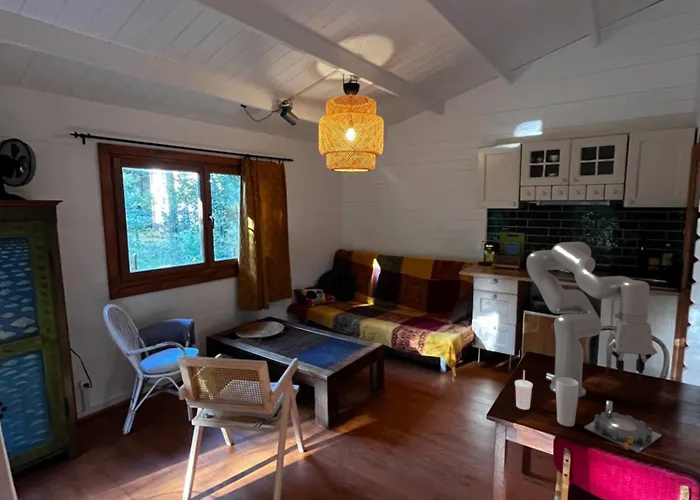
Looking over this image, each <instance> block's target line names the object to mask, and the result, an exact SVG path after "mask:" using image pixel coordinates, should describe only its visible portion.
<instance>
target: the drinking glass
mask: <svg viewBox="0 0 700 500" xmlns="http://www.w3.org/2000/svg"><path fill="white" fill-rule="evenodd" d="M578 394H579V383H578V382H577V381H576V380H574V379H571V378H566V377H561V378H558V379H557V381H556V393H555V399H556V401H555V402H556V416H557V417H556V420H557V422H558V424H560V425H561V426H564V427H574V426H575V423H576V413H577V407H578V401H579V397H578Z"/></svg>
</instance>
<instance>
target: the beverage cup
mask: <svg viewBox="0 0 700 500" xmlns="http://www.w3.org/2000/svg"><path fill="white" fill-rule="evenodd" d="M522 371H523V374H522V379H517V380H515V381H514V386H515V404H516V405H515V407H517V408H518V409H521V410H529V409H530V408H531V400H532V390H533V389H532V388H533V385H534V384H533V382H531V381H528V380H525V379H526V378H525V376H526V374H525V373H526V370H524V369H523V370H522Z"/></svg>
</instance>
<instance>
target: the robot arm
mask: <svg viewBox="0 0 700 500" xmlns="http://www.w3.org/2000/svg"><path fill="white" fill-rule="evenodd" d="M595 268H596V261H595V259H594V258H593V257H592V250H591V247H590V246H589V245H588V244H586V243H585V242H581V241H569V242H568V241H567V242H563V241H562V242H560V243H557V244H555V245H553V247H552V248H551V249H547V250H545V249H543V250H536V251H533V252H531V253H530V254H528V256H527V258H526V269H527V270H526V271H527V273H528V275H529V277H530V279H531V280H532V281H533V283H534V284H535V285H536V287H537V289H538V290H539V293H540V294H541V296H542V298H543V300H544V302H545V304H546V306H547V308H548V310H549V311H550V312H551V313H553V314H560V315H557V316H556V317H555V319H554V321H553V328H554V336H555V358H554V359H555V360H554V361H555V362H554V374H553V373H549V372H547V373H546V376H545V380H548V381H551V383H550V384H549V388H550V390H551V392H554V393H555V394H556V381H557V379H558V378H561V377H566V378H571V379H574V380H576V381H577V382H578V383H579V394H578V398H582V397H585V396H586V394H587V393H586V392H587V391H586V389H585V388H584V387H583V385H582V383H583V365H584V364H583V361H584V359H583V358H584V348H583V346H582V344H581V342H580V340H579V339H580V338H587V337H588V338H589V337H595V336H598V335H599V334H600V333H601V331H602V329H603V328H602V327H603V326H602V325H603V324H602V322H601V319H600V316H599V315H598V313H597V311H596V310H595V308H594V307H593V305H592V303H591V302H590V300H589V298H588V296H590V297H592V298H595V299H597V300H609V299H619V311H618V313H614V315H613V316H614V319H617V320H616V322H615V324H614V328H613V334H612V340H611V342H610V343H608V345H607V346H605V350H606V351H608V352H609V353H610V354H611V355H613V356H614V357H615V360H616V361H615V368H616V369H617V371H619V373H624V370H625V369H624V368H625V361H624V360H623V359H624V356H625V354H629V355H632V354H633V355H637V357H638V358H637V359H636V362H635V364H636V365H635V370H636V372H638V373H639V374H640V375H643V374H644V371H645V366H646V365H645V364H646V362H647V361H648V360H649V359H650V358H651V357H653V356H655V355H656V354H658V350H656V348H655V347H654V346H653V333H652V332H653V331H652V327H651V326H652V325H651V323H649V322H648V318H649V317H648V316H649V315H648V313H649V299H650V284H649V283H648V282H646V281H643V280H636V279H632V278H630V277H627V276H625V275H623V276H622V275H616V276H613V275H611V276H597V275H595V274H594V273H592V272H593V271H594V270H595ZM564 269H567V270H568V271H570V273H572V274H573V275H574V280H575V283H576V284H577V286H578V288H579V289H581V290H582V291H581V290H578V289H565V288H564V287H563V286H562V285H561V283H560V281H559V279H558V277H556V276H555V275H554V274H553V273H550V272H549V271H553V270H564ZM584 292H585V293H586V294H587V295H588V296H587V295H586V294H585V293H584ZM615 350H616V351H615Z"/></svg>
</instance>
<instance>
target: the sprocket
mask: <svg viewBox="0 0 700 500" xmlns="http://www.w3.org/2000/svg"><path fill="white" fill-rule="evenodd" d="M605 402H606V404H605V411H602V412H601V414H595V415H594V419H593V422H594V426H595V427H598V428H599V429H600V430H599V432H601V433H602V434H607V435H609V436H611V437H612V439H615V440H617V439H619V440H622V441H626V442H628V443H629V444H633V442H634V443H641V444H646V441H647V440H648V441H652V437H653V434H652V431H653V429H652V427H650V426H648V425H646V423H645V422H644V421H643V420H638V419H635V418H634V417H633V416H632V415H629V414H627V415H624V414H620V413H618V412H613V403H614V402H613V401H612V400H606V401H605Z"/></svg>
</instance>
